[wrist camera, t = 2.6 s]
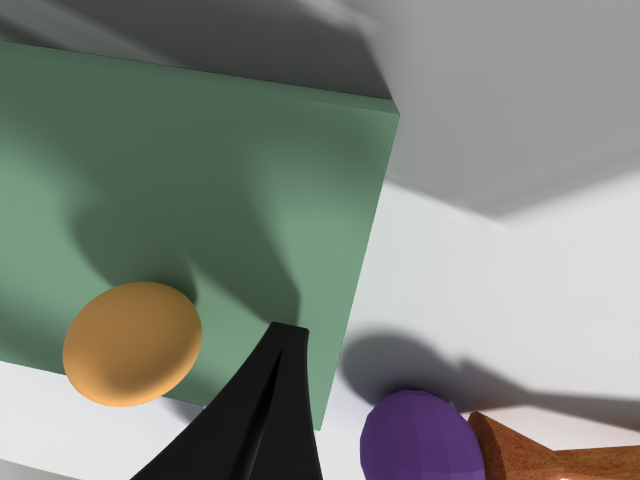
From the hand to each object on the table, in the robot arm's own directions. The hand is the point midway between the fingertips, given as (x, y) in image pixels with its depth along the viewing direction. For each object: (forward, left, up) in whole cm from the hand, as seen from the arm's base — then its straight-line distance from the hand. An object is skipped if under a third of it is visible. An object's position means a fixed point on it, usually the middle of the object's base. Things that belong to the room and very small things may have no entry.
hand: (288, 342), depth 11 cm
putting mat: (0, +10, -3) cm, 11 cm away
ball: (0, +5, +1) cm, 5 cm away
